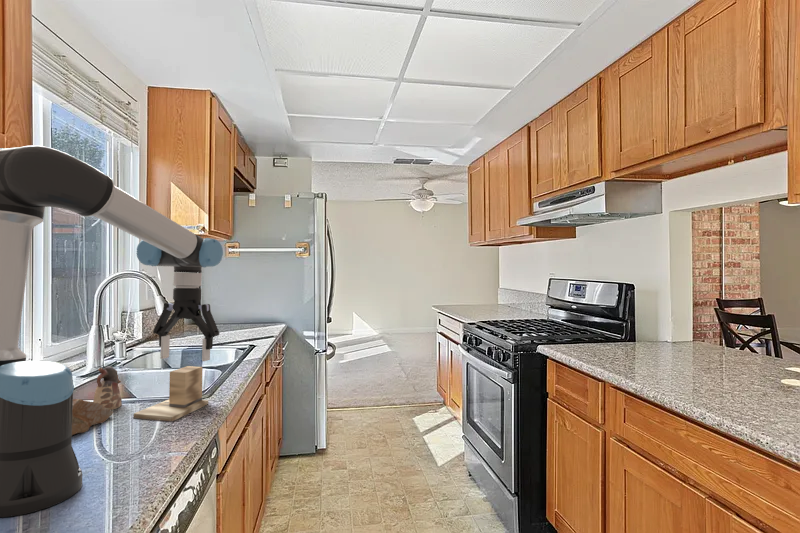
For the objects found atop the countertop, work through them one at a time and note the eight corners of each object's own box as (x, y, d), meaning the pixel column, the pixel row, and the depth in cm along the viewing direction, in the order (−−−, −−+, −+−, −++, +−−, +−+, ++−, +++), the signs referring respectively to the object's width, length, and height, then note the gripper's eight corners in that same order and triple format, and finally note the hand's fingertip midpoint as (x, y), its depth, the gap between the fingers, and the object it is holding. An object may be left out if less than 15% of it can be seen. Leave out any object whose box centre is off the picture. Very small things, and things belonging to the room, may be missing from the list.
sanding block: (184, 407, 130) (185, 372, 130) (169, 406, 131) (169, 371, 131) (201, 399, 138) (202, 367, 138) (187, 398, 139) (187, 366, 139)
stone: (70, 433, 108) (68, 392, 111) (33, 446, 108) (32, 404, 111) (118, 434, 124) (115, 398, 127) (86, 445, 124) (84, 408, 127)
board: (172, 421, 122) (172, 416, 122) (133, 417, 125) (133, 413, 125) (208, 404, 138) (208, 400, 138) (173, 401, 140) (173, 397, 140)
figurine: (126, 406, 135) (127, 365, 135) (100, 412, 129) (100, 370, 129) (114, 402, 139) (115, 362, 139) (88, 407, 133) (89, 366, 133)
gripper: (232, 288, 136) (230, 359, 135) (159, 286, 141) (157, 354, 140) (218, 288, 129) (215, 363, 128) (141, 286, 133) (138, 359, 133)
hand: (185, 359), depth 134 cm, fingers open, 13 cm apart
